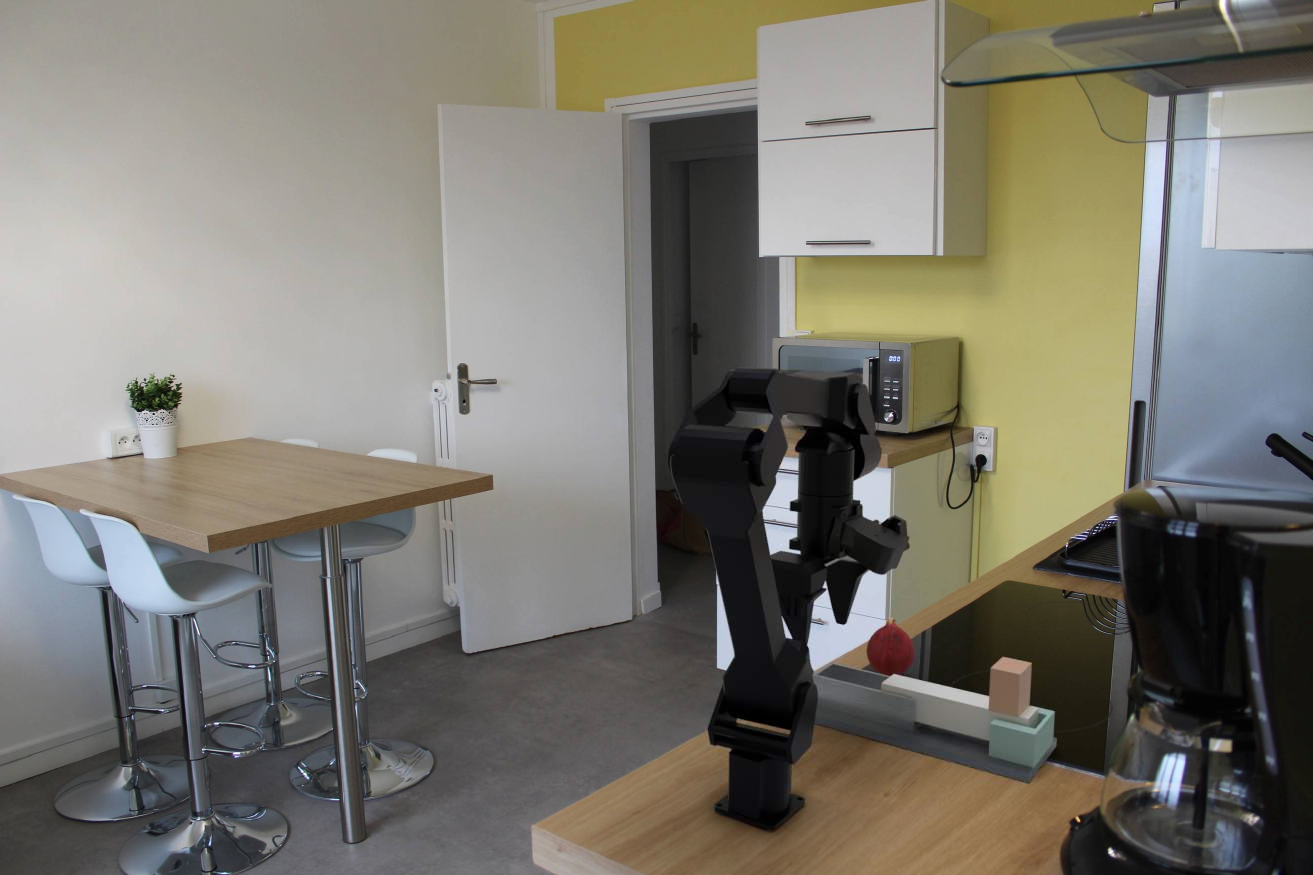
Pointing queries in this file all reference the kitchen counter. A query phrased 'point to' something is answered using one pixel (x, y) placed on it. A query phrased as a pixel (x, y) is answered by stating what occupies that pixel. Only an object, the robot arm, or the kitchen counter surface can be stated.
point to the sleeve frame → (901, 722)
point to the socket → (1022, 739)
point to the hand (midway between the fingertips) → (822, 635)
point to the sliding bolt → (972, 700)
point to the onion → (890, 650)
